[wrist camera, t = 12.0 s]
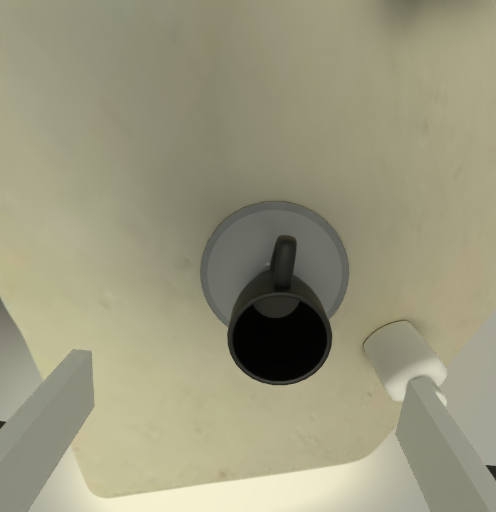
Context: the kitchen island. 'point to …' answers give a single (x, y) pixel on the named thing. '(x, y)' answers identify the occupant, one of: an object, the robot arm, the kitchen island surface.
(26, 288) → the kitchen island surface
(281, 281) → the mug
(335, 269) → the round gray plate
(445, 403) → the eye dropper bottle
